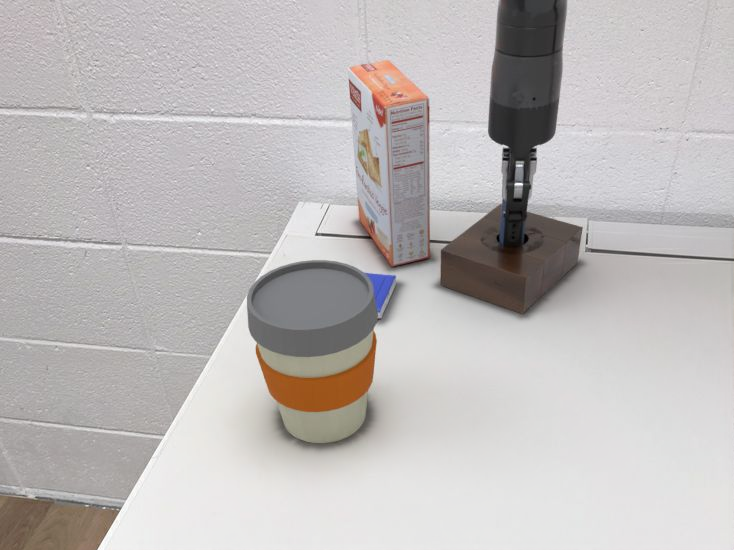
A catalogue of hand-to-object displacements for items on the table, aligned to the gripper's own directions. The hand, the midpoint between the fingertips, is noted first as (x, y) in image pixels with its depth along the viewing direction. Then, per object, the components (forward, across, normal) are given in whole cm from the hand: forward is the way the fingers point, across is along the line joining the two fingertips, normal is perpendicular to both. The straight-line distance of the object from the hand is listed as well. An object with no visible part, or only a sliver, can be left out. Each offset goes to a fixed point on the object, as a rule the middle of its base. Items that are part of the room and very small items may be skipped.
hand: (512, 237), depth 99 cm
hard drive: (+5, -6, +21) cm, 23 cm away
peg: (+4, 0, 0) cm, 4 cm away
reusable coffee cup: (+5, -29, +19) cm, 35 cm away
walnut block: (+5, 0, 0) cm, 5 cm away
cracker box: (+5, +8, +16) cm, 19 cm away
